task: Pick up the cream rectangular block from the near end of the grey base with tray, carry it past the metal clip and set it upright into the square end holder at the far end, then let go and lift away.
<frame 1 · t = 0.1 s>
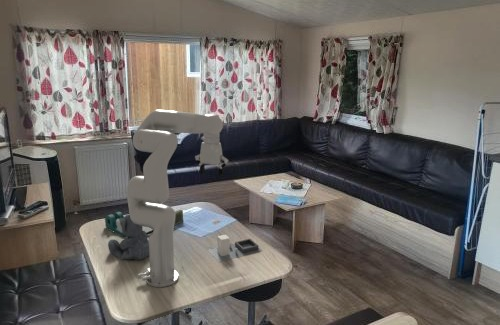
hand: (211, 174, 189), 31 cm above the table, tool pointing down, fingers open, 9 cm apart
cream rectangular block: (223, 253, 176), point 1 cm above the table, touching grey base with tray
grey base with tray: (235, 252, 179), on the table
handheld radio: (164, 229, 202), on the table
koala plush: (134, 253, 176), on the table
dark green rounded piece: (121, 231, 198), on the table
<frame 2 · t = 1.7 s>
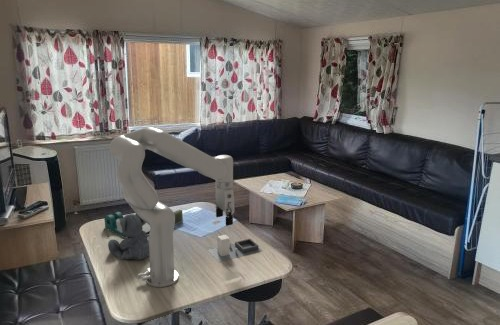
hand: (224, 220, 172), 17 cm above the table, tool pointing down, fingers open, 9 cm apart
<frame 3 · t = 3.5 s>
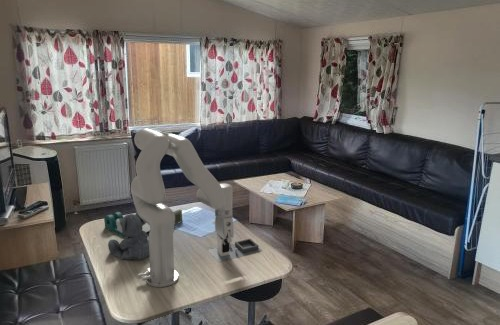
hand: (223, 249, 175), 3 cm above the table, tool pointing down, fingers closed on cream rectangular block, 4 cm apart
cream rectangular block: (223, 253, 176), point 1 cm above the table, touching grey base with tray, gripper
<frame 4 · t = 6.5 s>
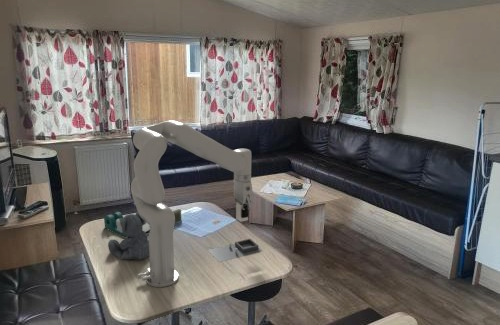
hand: (242, 215, 176), 18 cm above the table, tool pointing down, fingers closed on cream rectangular block, 4 cm apart
cream rectangular block: (242, 219, 176), point 16 cm above the table, touching gripper
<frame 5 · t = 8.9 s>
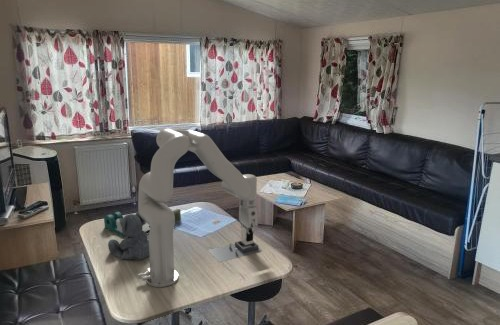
hand: (247, 238, 180), 6 cm above the table, tool pointing down, fingers closed on cream rectangular block, 4 cm apart
cream rectangular block: (247, 242, 181), point 4 cm above the table, touching gripper
when the fingers open (4 cm above the table, at t = 9.6 s): cream rectangular block stays where it is, resting on grey base with tray.
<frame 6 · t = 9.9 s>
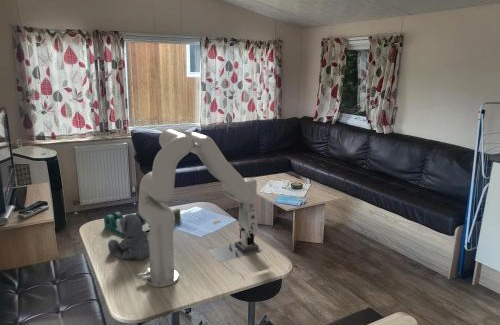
hand: (246, 240, 181), 4 cm above the table, tool pointing down, fingers open, 6 cm apart
cream rectangular block: (246, 247, 182), point 1 cm above the table, touching grey base with tray
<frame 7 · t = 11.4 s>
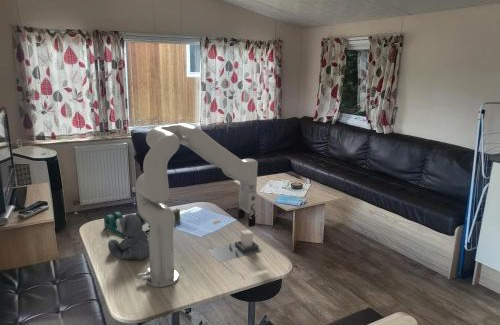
hand: (246, 222, 178), 14 cm above the table, tool pointing down, fingers open, 9 cm apart
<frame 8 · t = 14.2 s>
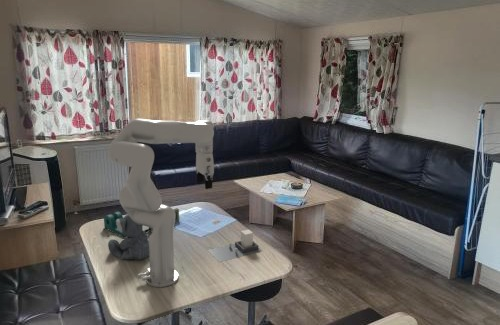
hand: (204, 185, 176), 30 cm above the table, tool pointing down, fingers open, 9 cm apart
at the end: cream rectangular block 0.1 cm from the target spot on the grey base with tray, point 1.0 cm above the grey base with tray's base; cream rectangular block tilted 0°; the gripper is holding nothing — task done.
